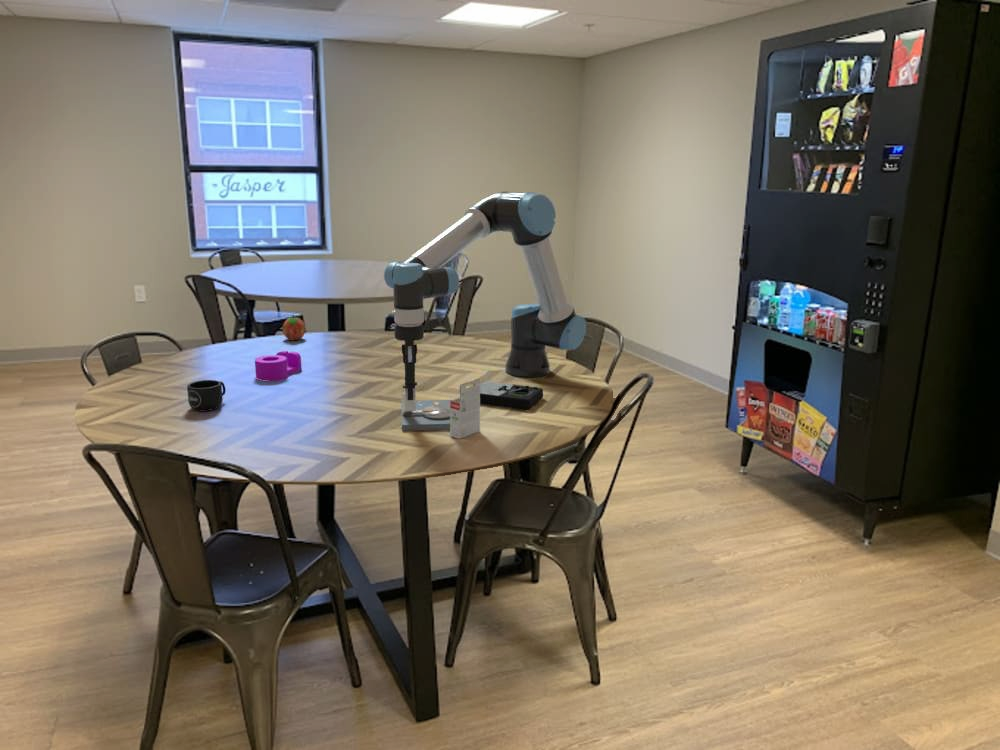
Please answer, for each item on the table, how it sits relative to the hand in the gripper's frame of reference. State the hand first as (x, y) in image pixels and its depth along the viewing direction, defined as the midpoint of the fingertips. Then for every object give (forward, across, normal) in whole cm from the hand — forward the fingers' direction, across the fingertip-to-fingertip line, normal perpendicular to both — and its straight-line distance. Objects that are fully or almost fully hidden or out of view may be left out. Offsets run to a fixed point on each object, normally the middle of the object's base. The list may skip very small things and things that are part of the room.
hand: (410, 410), depth 202 cm
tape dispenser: (+5, -54, -42) cm, 69 cm away
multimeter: (+5, -20, +29) cm, 35 cm away
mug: (+4, -21, -56) cm, 60 cm away
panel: (+4, -6, +8) cm, 11 cm away
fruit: (+5, -106, -43) cm, 114 cm away
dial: (+3, -4, +5) cm, 7 cm away
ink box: (+5, +8, +14) cm, 17 cm away
